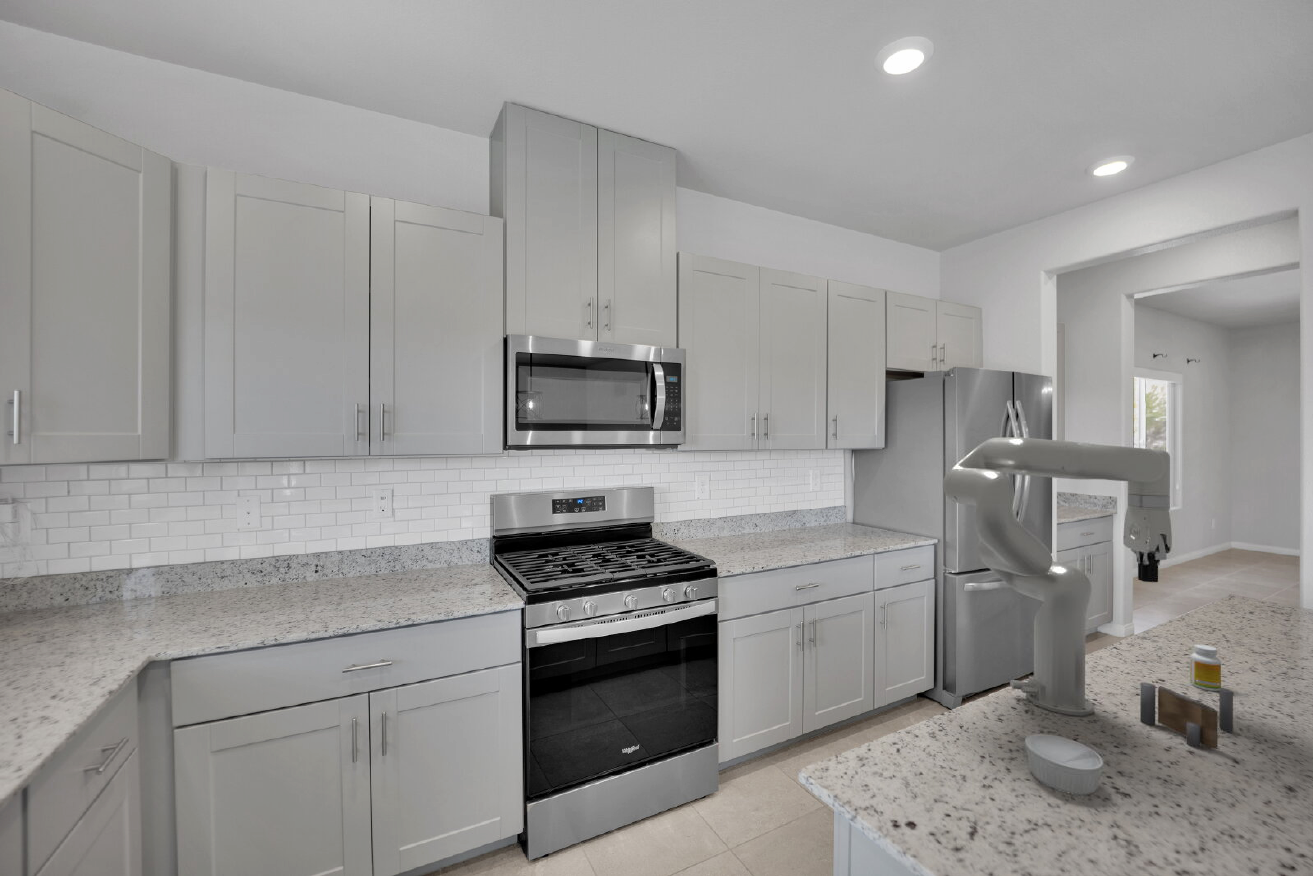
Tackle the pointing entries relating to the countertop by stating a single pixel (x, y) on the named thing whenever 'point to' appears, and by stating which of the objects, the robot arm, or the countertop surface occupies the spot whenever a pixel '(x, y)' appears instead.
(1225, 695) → the post
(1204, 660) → the supplement bottle
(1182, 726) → the gate
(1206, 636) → the countertop surface
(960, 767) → the countertop surface
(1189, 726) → the gate frame
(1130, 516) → the robot arm
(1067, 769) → the ramekin
